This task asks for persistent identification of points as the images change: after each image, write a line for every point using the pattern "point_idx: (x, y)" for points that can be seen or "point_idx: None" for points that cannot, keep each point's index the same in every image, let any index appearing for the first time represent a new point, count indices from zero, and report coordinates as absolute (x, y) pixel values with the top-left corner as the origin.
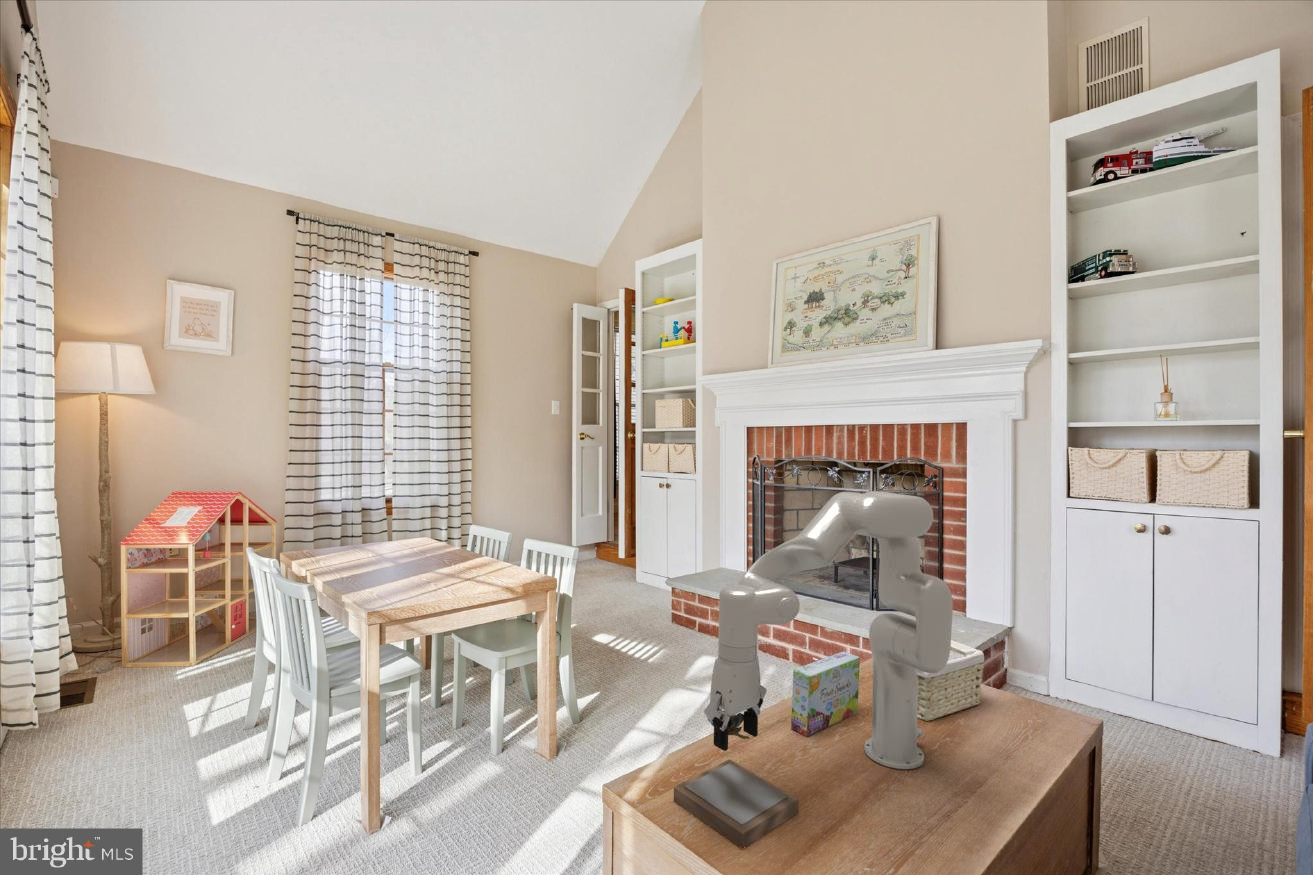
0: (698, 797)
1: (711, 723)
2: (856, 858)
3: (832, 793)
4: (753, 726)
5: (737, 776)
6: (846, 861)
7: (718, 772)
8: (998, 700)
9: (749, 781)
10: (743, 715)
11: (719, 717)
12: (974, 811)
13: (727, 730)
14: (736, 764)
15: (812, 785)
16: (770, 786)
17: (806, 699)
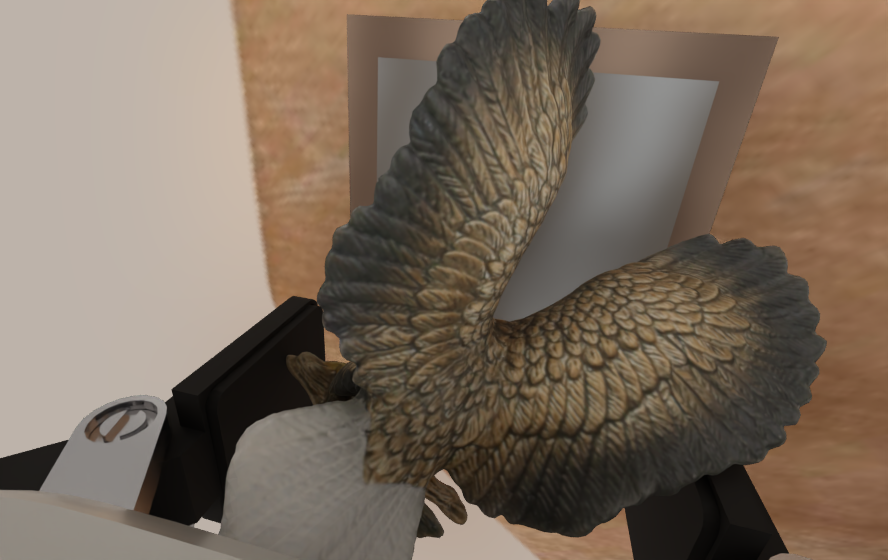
0: (376, 156)
1: (45, 452)
2: (544, 543)
3: (831, 449)
4: (632, 523)
5: (618, 193)
6: (518, 530)
7: (589, 98)
8: None
9: (616, 256)
10: (741, 442)
11: (148, 499)
12: None
13: (219, 519)
14: (742, 110)
15: (851, 383)
16: None
17: None
